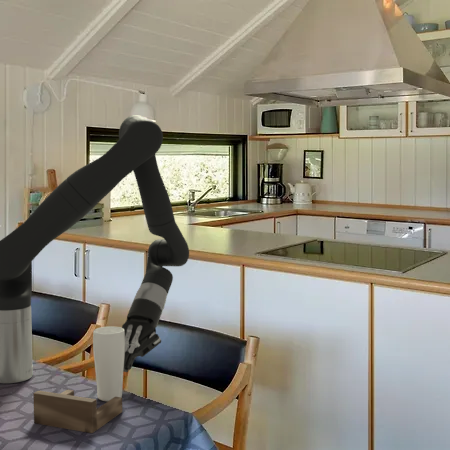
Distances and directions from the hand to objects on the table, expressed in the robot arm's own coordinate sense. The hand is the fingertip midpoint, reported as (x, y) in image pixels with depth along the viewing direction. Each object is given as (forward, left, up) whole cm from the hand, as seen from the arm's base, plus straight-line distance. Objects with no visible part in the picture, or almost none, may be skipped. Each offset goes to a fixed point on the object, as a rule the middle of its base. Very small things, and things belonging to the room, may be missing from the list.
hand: (122, 370), depth 138 cm
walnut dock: (-6, -16, -4) cm, 17 cm away
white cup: (-2, -5, -5) cm, 7 cm away
